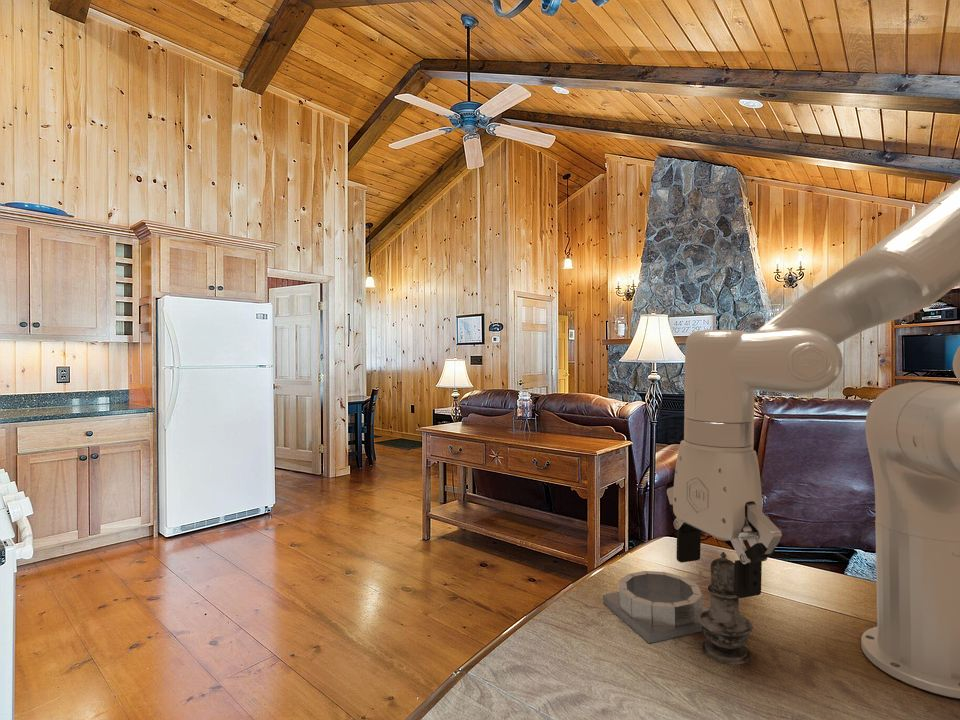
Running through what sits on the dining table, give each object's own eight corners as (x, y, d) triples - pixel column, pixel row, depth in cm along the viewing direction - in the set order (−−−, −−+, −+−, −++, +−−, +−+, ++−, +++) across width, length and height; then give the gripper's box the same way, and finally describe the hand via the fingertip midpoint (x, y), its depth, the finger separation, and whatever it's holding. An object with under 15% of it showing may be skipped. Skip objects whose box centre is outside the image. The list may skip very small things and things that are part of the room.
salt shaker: (760, 668, 59) (757, 563, 59) (705, 663, 61) (702, 560, 60) (745, 639, 65) (742, 543, 65) (694, 636, 66) (692, 541, 66)
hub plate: (668, 590, 79) (667, 565, 79) (722, 626, 68) (721, 598, 68) (603, 603, 75) (602, 577, 75) (649, 643, 65) (648, 613, 65)
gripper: (647, 424, 69) (645, 553, 70) (749, 450, 53) (746, 617, 53) (694, 422, 72) (692, 546, 72) (807, 446, 55) (804, 607, 56)
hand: (715, 576), depth 63 cm, fingers open, 9 cm apart
